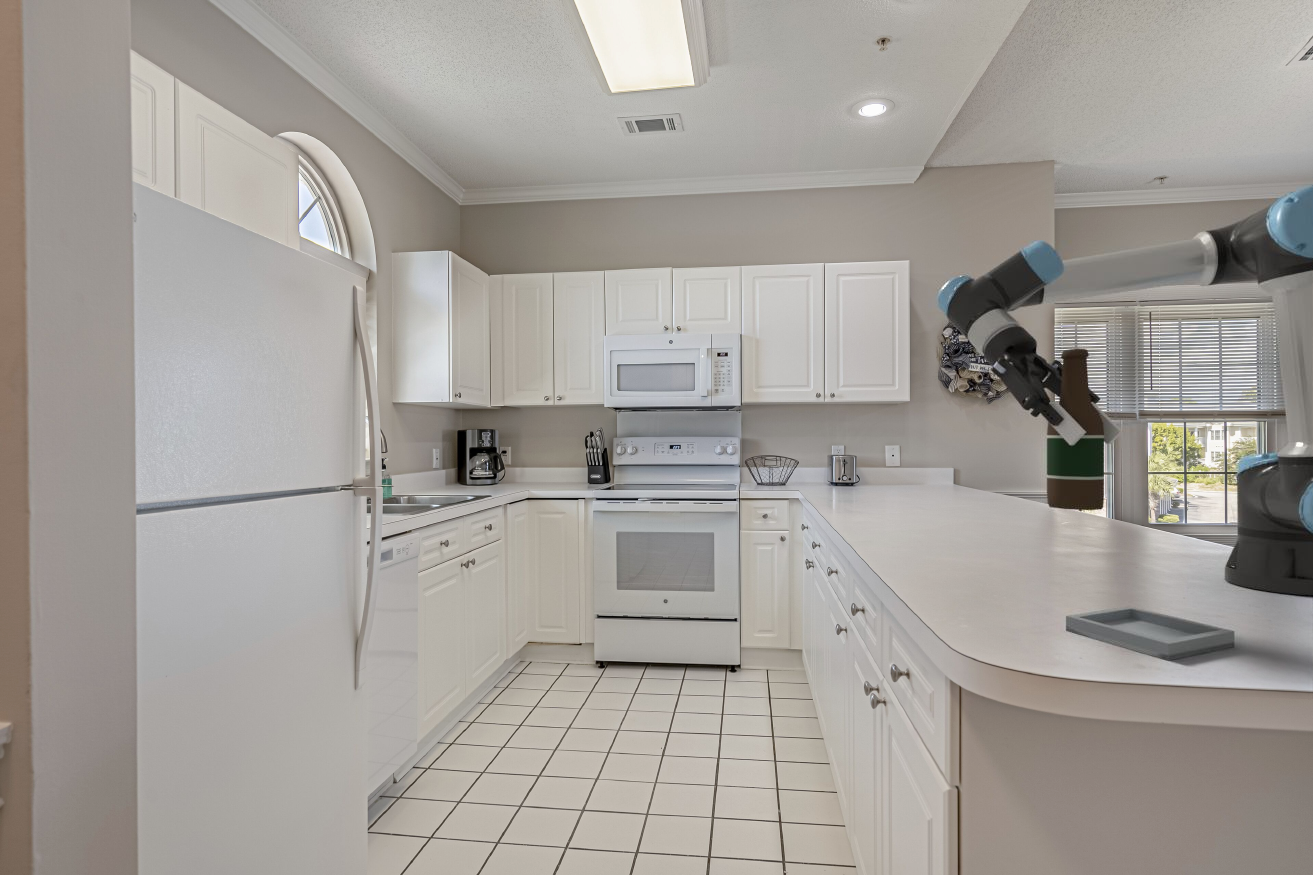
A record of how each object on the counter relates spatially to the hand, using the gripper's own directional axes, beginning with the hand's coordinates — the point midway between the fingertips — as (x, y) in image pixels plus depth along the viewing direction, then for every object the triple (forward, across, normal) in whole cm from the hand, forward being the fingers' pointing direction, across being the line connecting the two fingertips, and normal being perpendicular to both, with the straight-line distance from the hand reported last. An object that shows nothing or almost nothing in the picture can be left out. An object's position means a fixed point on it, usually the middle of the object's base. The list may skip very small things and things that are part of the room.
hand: (1096, 438), depth 98 cm
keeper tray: (+25, +4, -12) cm, 28 cm away
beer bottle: (+5, 0, -10) cm, 11 cm away
